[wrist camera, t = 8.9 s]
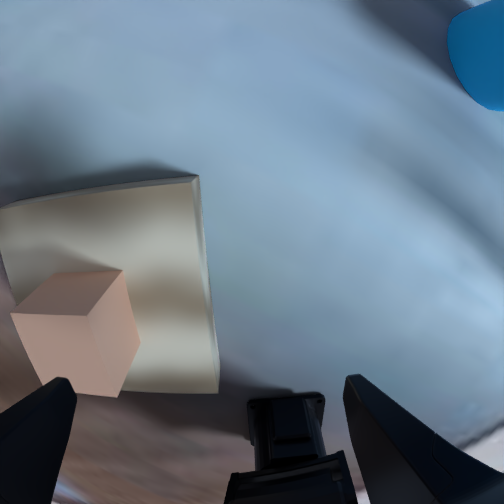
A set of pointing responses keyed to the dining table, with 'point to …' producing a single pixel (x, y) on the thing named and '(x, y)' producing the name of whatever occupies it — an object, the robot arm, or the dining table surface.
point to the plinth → (129, 268)
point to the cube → (80, 330)
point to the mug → (480, 52)
